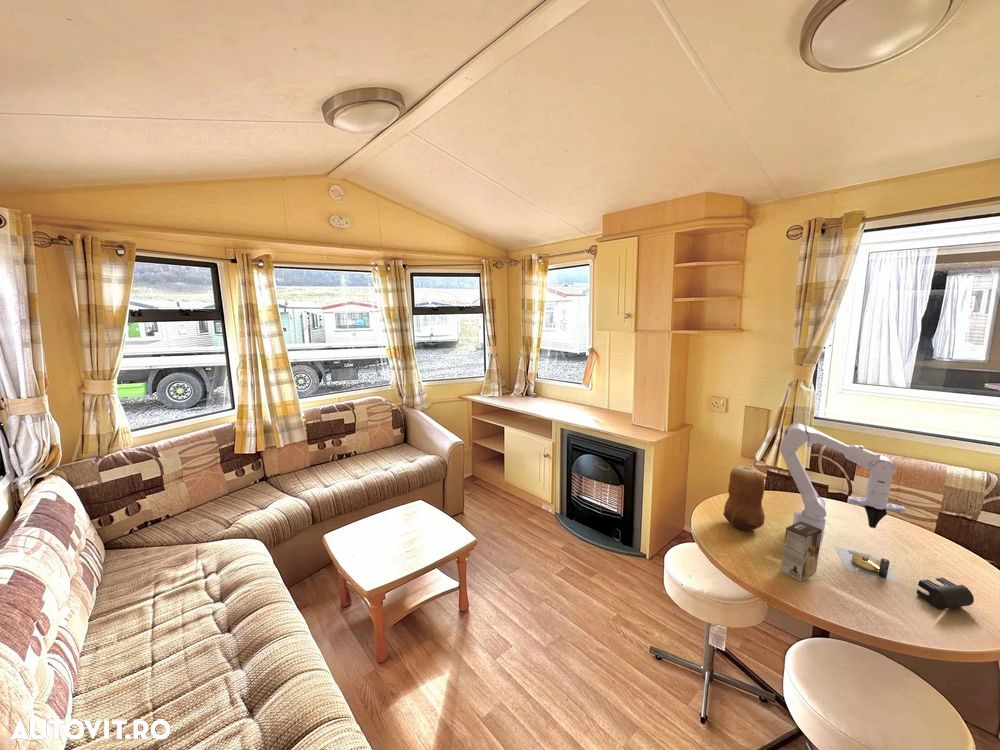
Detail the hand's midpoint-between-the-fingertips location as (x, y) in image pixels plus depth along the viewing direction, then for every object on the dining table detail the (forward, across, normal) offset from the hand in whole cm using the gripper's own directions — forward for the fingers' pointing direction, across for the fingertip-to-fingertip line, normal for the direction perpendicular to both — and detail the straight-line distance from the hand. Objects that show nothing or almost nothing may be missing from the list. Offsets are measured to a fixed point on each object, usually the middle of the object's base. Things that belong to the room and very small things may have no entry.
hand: (871, 526), depth 141 cm
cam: (+9, -2, -12) cm, 15 cm away
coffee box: (+11, -23, -25) cm, 36 cm away
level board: (+10, -3, -10) cm, 15 cm away
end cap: (+11, +12, -22) cm, 27 cm away
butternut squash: (+11, -39, -3) cm, 40 cm away
